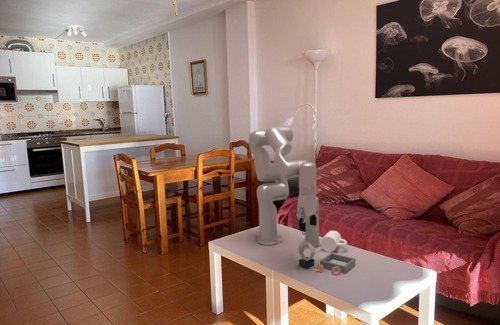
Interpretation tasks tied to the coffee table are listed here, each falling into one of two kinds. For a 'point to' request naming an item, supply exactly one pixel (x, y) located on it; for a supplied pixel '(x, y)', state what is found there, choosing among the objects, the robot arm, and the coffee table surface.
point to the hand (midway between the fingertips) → (307, 228)
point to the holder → (338, 262)
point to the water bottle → (312, 230)
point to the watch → (306, 261)
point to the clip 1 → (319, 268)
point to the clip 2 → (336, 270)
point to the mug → (332, 241)
